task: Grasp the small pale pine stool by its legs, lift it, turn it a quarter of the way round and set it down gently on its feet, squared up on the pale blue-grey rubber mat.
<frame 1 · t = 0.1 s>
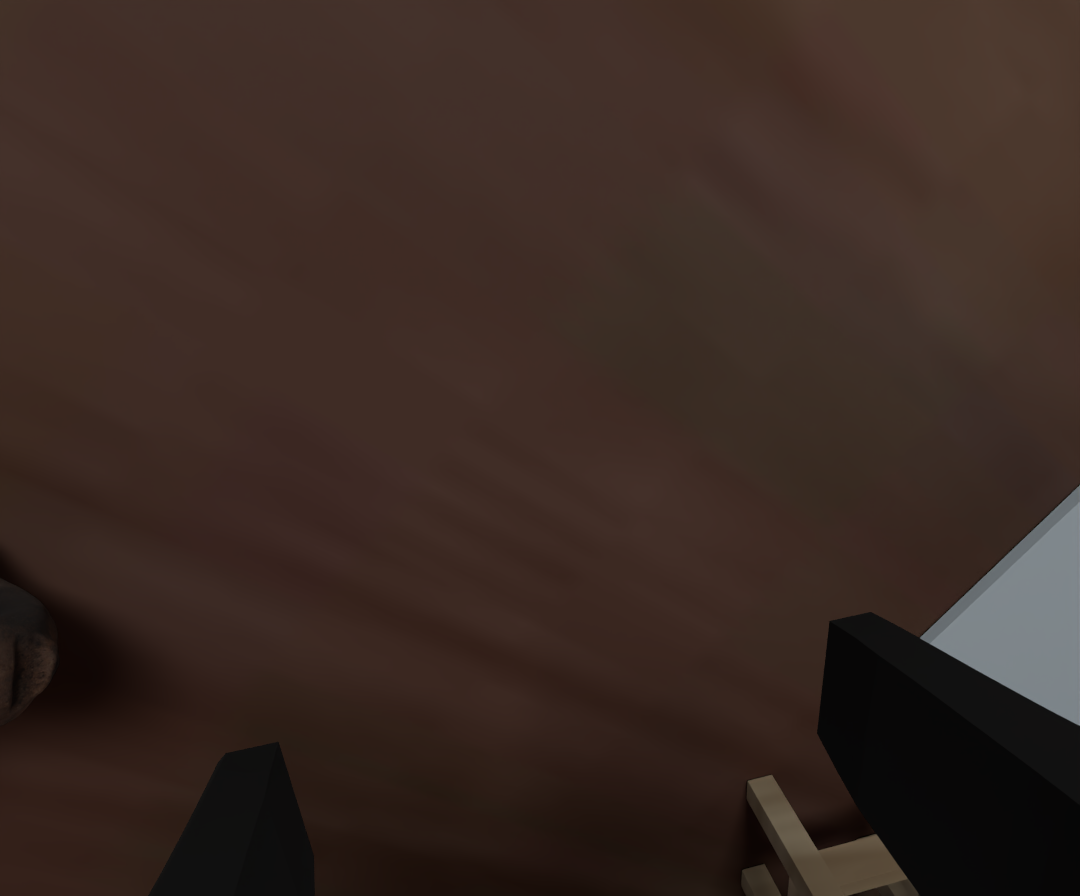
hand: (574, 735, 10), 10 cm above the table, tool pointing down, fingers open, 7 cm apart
pine stool: (815, 816, 28), on the table
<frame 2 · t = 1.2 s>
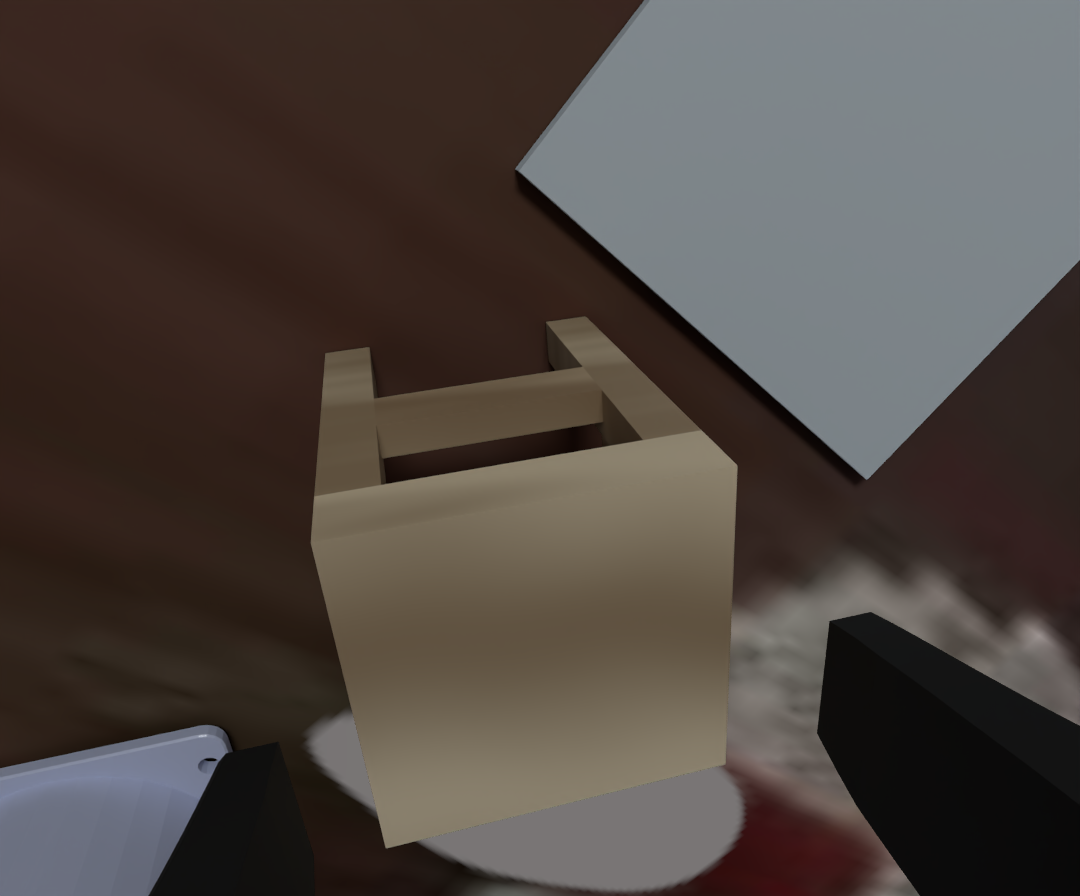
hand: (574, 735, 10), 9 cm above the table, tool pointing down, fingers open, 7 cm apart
rubber mat: (898, 127, 17), on the table
pine stool: (474, 451, 18), on the table
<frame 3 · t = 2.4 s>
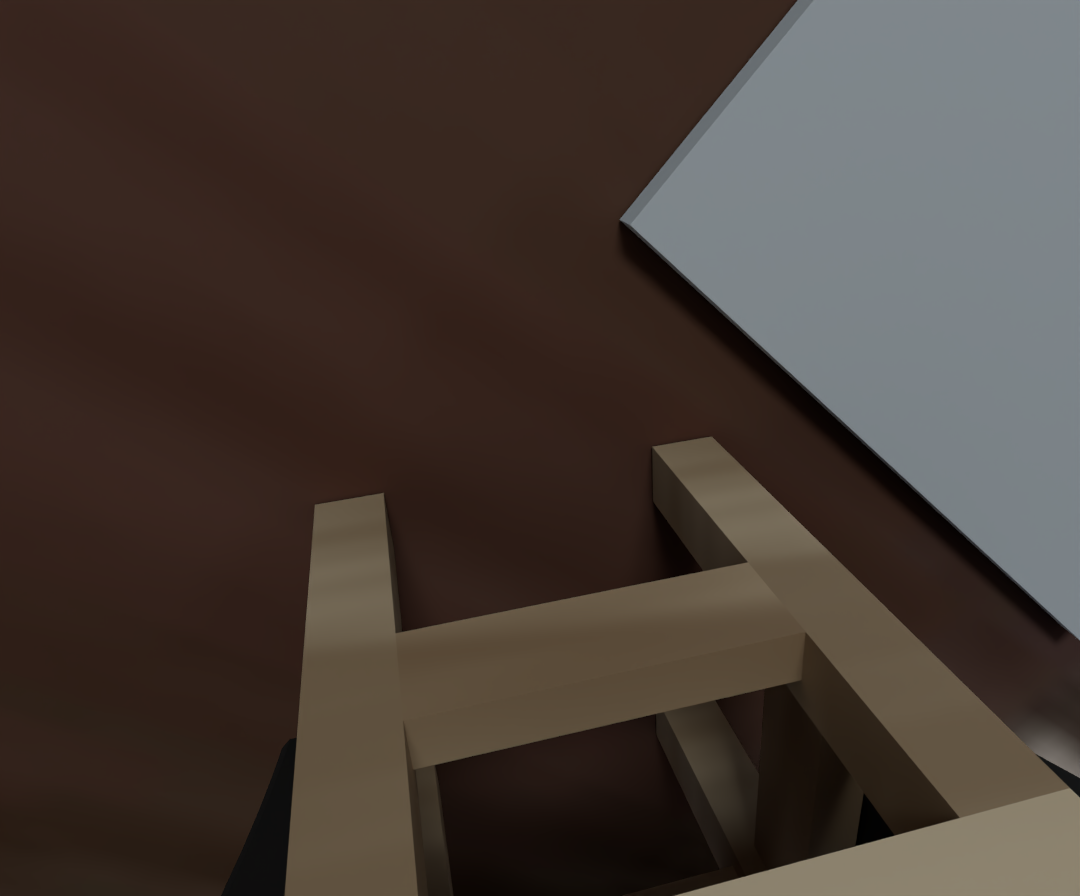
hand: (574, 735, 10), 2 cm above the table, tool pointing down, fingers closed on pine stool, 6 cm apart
pine stool: (537, 629, 12), on the table, touching gripper
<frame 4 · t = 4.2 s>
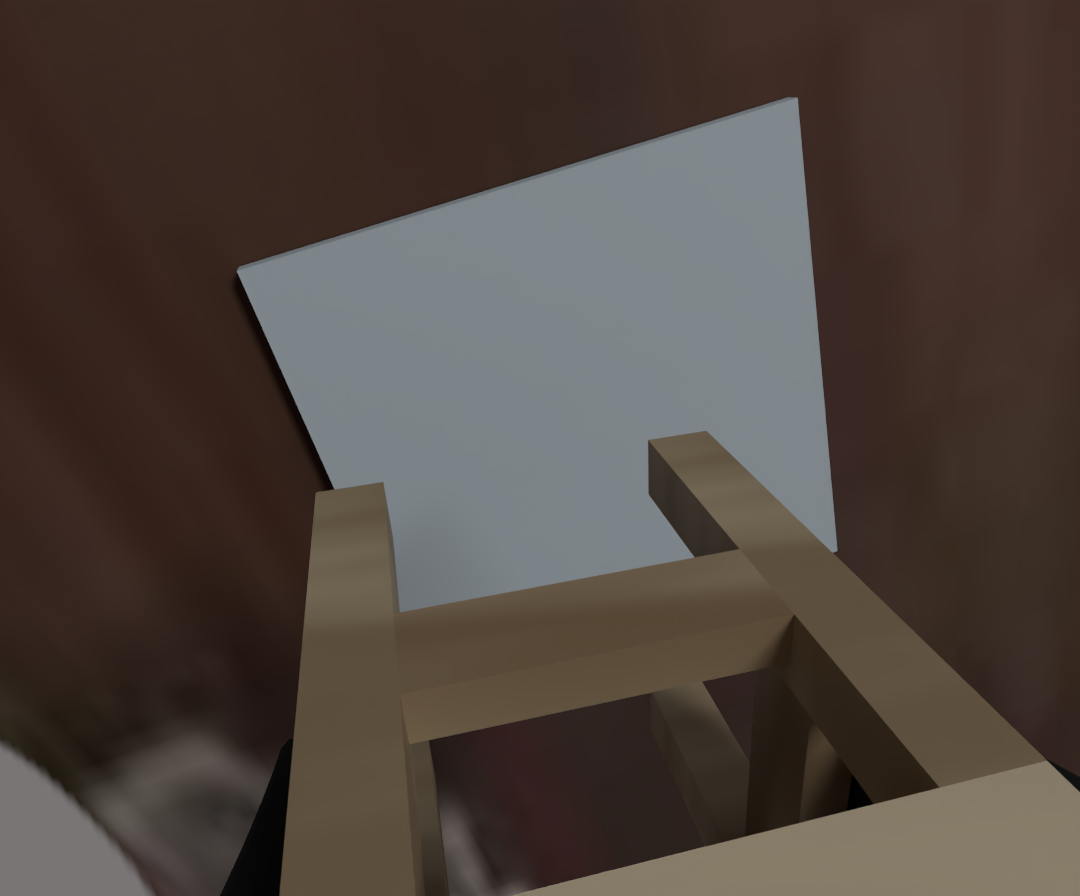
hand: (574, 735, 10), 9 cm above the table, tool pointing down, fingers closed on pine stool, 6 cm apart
rubber mat: (586, 429, 19), on the table
pine stool: (533, 620, 12), point 7 cm above the table, touching gripper
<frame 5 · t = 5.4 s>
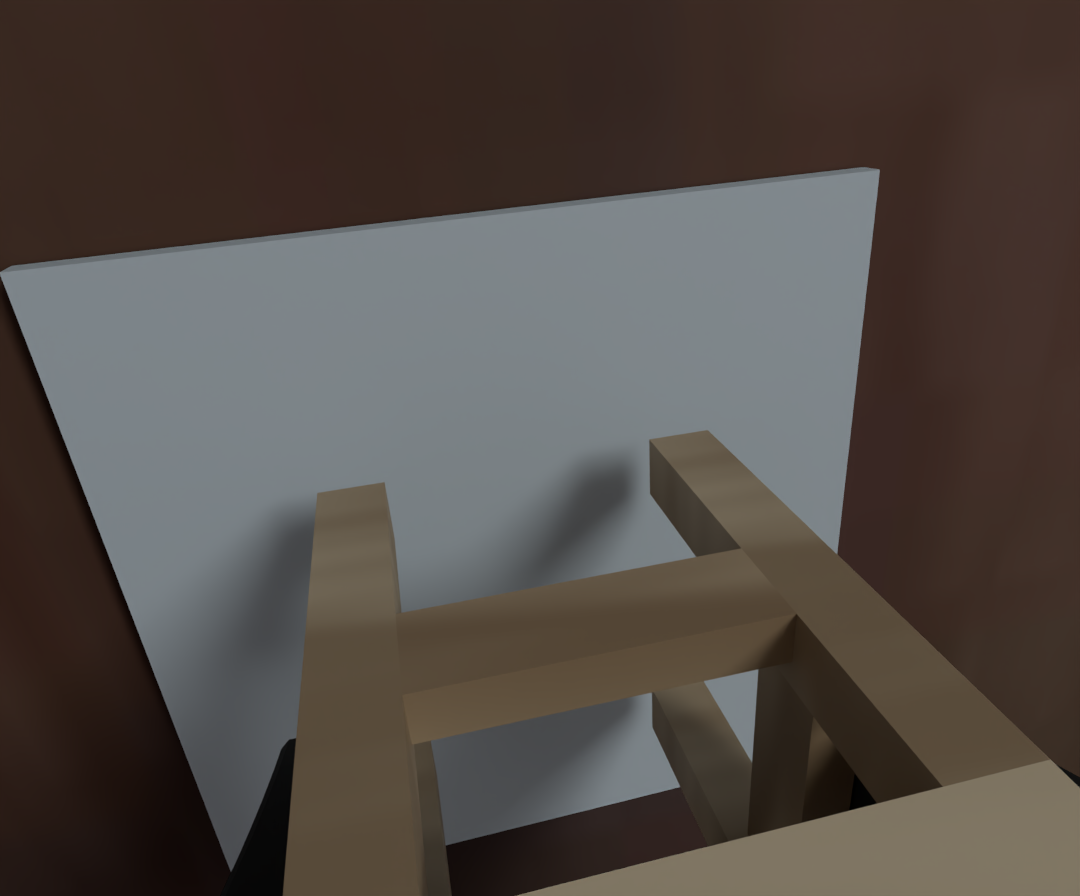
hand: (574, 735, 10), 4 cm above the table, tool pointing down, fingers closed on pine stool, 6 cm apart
rubber mat: (515, 566, 14), on the table
pine stool: (535, 620, 12), point 2 cm above the table, touching gripper
when the fingers open (4 cm above the table, at t = 6.1 s): pine stool stays where it is, resting on rubber mat.
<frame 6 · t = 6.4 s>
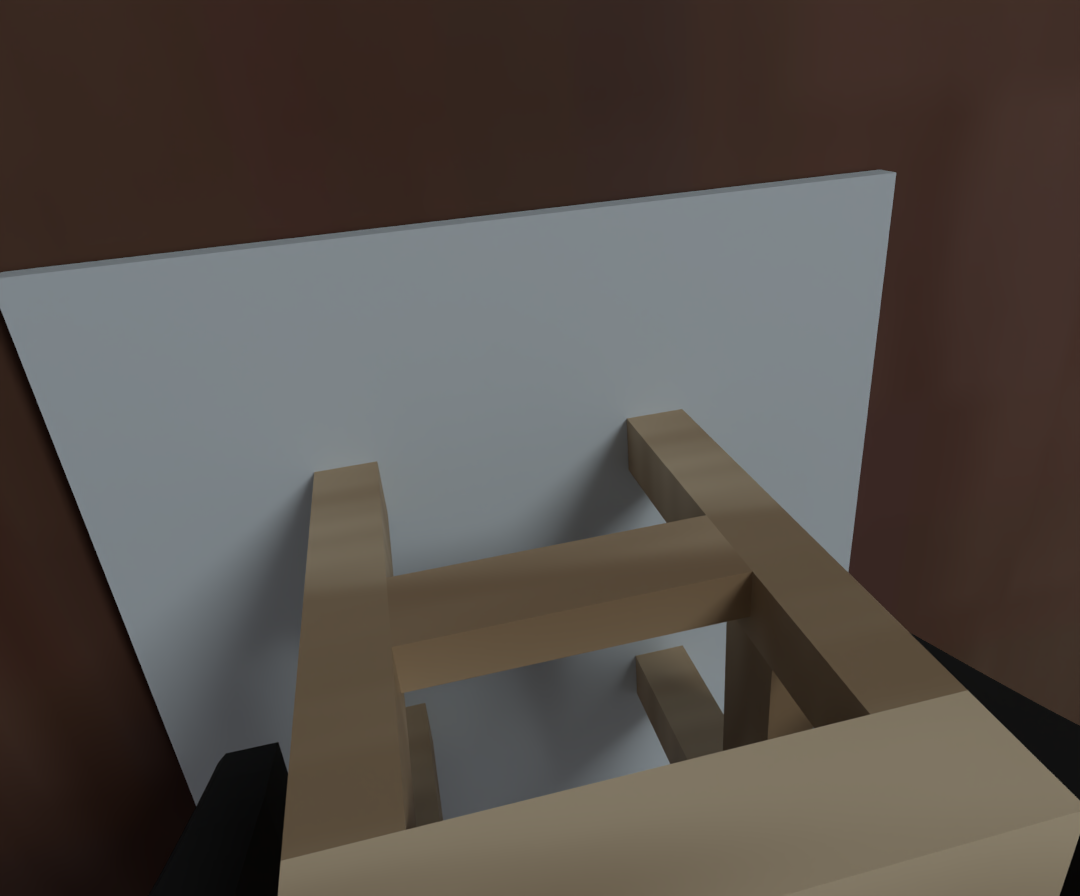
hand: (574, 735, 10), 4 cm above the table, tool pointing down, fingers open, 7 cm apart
rubber mat: (520, 578, 13), on the table
pine stool: (522, 591, 13), resting on rubber mat
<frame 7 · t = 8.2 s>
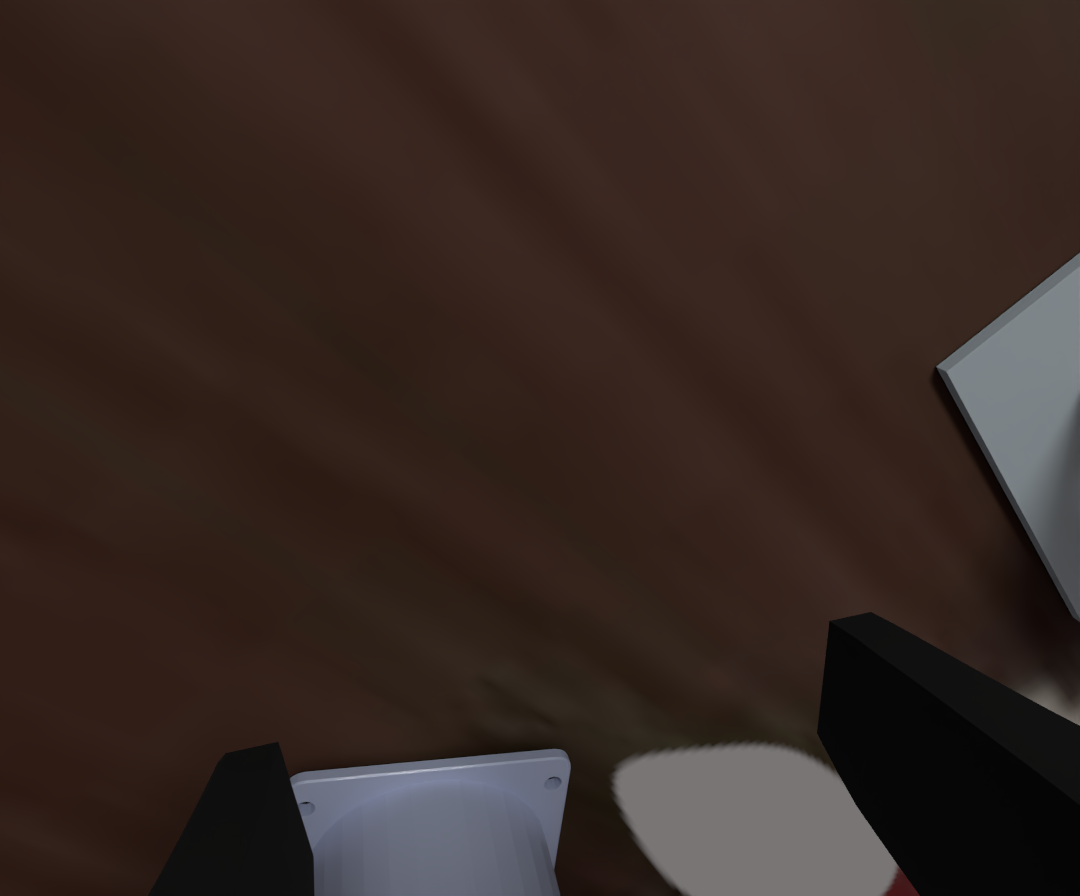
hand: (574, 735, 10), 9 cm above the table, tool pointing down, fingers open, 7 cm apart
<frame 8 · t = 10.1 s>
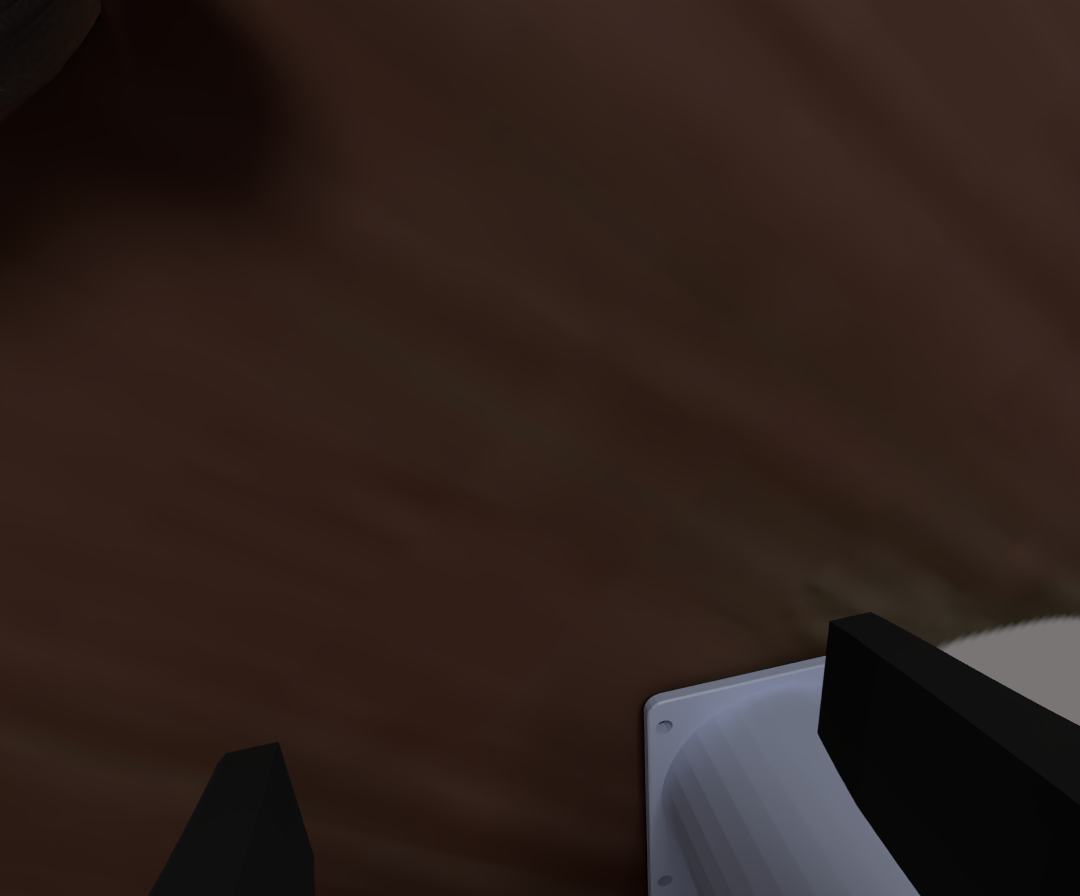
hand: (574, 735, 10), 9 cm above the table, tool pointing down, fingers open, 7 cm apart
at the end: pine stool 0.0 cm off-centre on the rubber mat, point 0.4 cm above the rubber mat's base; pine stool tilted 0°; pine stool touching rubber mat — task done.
